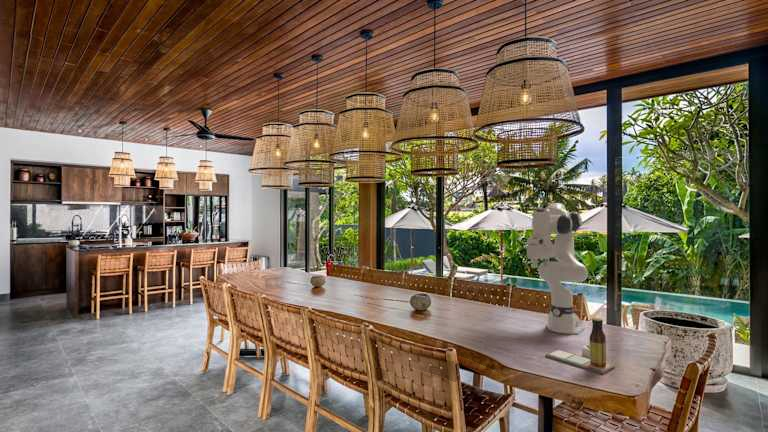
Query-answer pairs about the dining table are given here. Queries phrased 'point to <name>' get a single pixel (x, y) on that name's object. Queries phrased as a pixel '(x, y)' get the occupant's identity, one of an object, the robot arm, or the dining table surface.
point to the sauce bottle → (597, 344)
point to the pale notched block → (586, 351)
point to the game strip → (578, 361)
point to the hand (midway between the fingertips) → (540, 267)
